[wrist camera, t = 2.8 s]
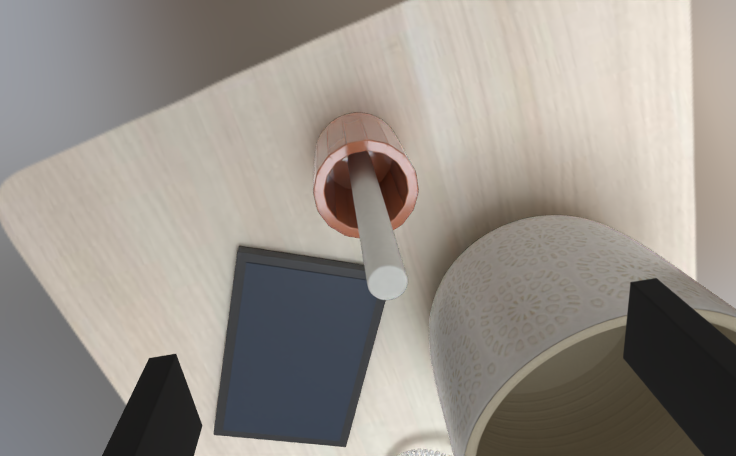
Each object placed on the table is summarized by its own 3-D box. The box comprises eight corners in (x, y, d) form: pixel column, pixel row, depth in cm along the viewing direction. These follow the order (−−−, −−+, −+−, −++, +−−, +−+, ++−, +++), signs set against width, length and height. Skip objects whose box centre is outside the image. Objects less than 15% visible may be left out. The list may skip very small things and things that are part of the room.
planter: (378, 241, 36) (414, 391, 23) (608, 150, 35) (795, 251, 21) (450, 405, 43) (511, 595, 30) (643, 334, 42) (801, 500, 28)
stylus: (344, 166, 33) (363, 298, 19) (349, 144, 33) (372, 262, 18) (367, 170, 33) (402, 303, 19) (372, 148, 33) (412, 268, 18)
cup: (308, 186, 34) (305, 230, 28) (323, 104, 32) (324, 131, 26) (388, 200, 35) (404, 245, 29) (408, 121, 33) (429, 151, 27)
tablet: (215, 426, 42) (213, 435, 41) (239, 245, 36) (237, 252, 35) (345, 438, 44) (345, 447, 43) (390, 268, 37) (392, 275, 37)
